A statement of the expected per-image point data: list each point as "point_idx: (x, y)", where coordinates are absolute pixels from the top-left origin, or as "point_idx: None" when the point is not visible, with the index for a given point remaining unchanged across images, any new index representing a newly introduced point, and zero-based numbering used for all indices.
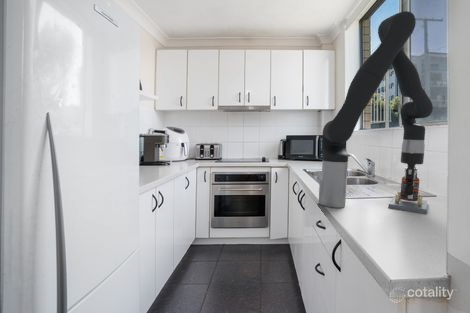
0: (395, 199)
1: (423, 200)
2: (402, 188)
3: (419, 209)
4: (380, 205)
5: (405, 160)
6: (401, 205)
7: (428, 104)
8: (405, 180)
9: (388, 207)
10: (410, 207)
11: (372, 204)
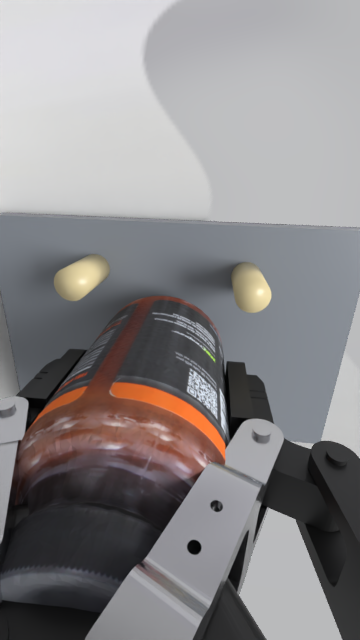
0: (77, 261)
1: (308, 425)
2: (96, 345)
3: (22, 383)
4: (31, 149)
5: None
6: (10, 297)
7: None
8: (27, 430)
9: (3, 213)
10: (12, 344)
11: (12, 79)
